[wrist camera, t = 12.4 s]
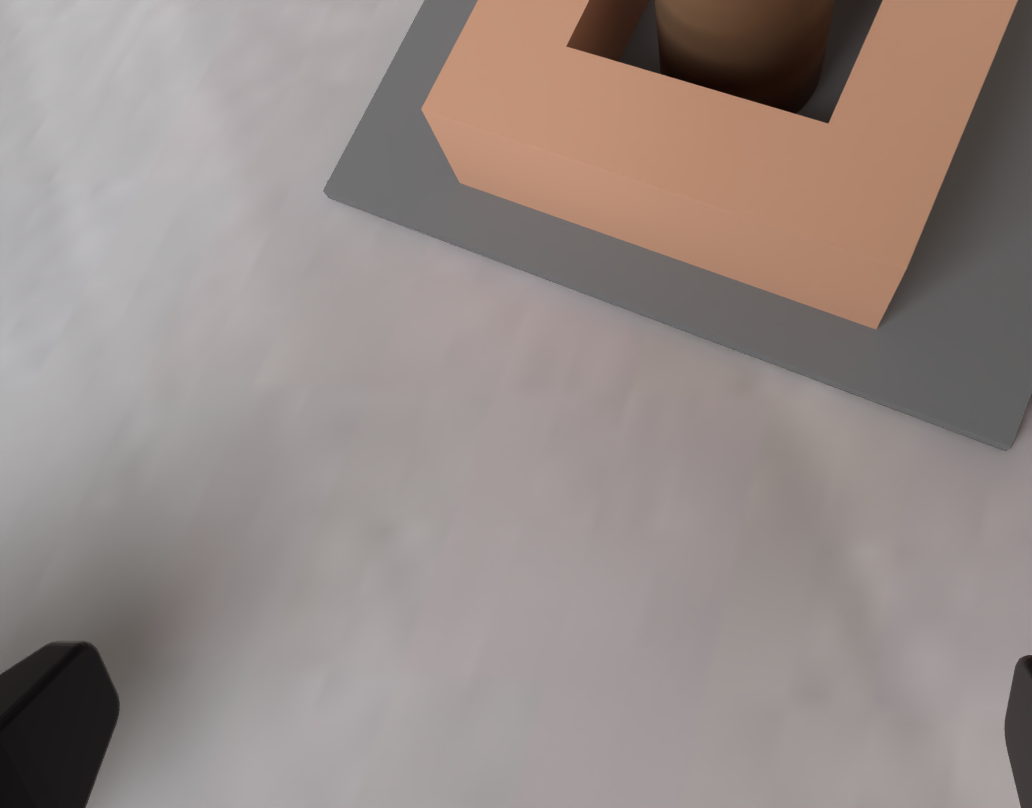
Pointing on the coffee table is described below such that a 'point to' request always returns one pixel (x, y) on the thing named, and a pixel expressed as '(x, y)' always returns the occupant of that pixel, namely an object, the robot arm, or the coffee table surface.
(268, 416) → the coffee table surface
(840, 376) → the mat
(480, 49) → the socket block
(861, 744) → the coffee table surface
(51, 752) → the robot arm
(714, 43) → the walnut peg
